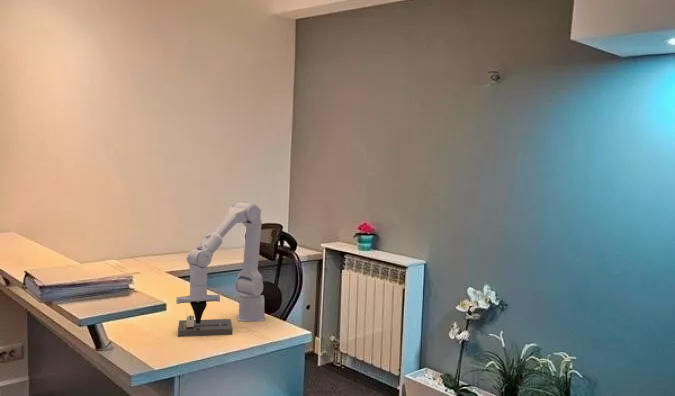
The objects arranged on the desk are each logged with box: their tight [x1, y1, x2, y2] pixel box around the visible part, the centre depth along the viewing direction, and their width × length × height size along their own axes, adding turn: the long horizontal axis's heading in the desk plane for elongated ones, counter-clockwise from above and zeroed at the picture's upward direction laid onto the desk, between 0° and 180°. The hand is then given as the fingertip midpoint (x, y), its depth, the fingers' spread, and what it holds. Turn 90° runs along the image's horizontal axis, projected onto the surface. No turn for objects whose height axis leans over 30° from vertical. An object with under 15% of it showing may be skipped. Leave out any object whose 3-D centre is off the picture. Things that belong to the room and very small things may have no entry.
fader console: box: [177, 318, 233, 338], centre depth 205 cm, size 18×12×2 cm, turn 103°
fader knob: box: [186, 315, 195, 327], centre depth 203 cm, size 2×5×3 cm, turn 13°
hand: (197, 322), depth 204 cm, fingers closed
